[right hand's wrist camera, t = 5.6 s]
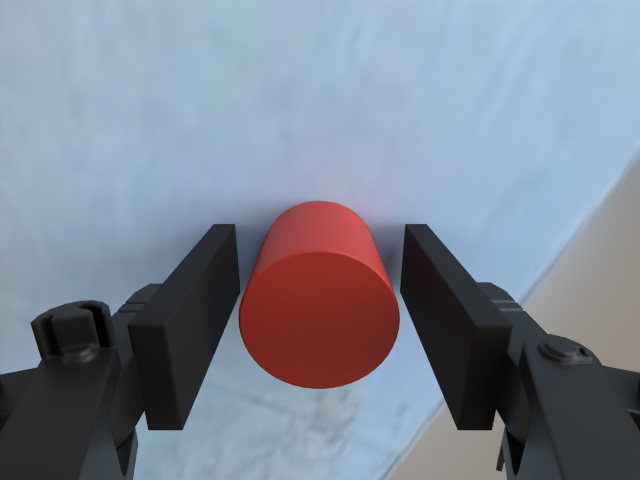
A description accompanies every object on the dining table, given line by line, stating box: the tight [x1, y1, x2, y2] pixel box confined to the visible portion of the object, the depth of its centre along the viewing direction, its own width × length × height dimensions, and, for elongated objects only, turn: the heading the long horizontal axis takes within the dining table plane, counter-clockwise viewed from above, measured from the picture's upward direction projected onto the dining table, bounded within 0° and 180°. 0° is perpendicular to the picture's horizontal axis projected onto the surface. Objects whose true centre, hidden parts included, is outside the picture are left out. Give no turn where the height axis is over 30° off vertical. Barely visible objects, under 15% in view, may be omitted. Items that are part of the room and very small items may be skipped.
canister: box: [239, 201, 400, 389], centre depth 12 cm, size 4×4×5 cm
